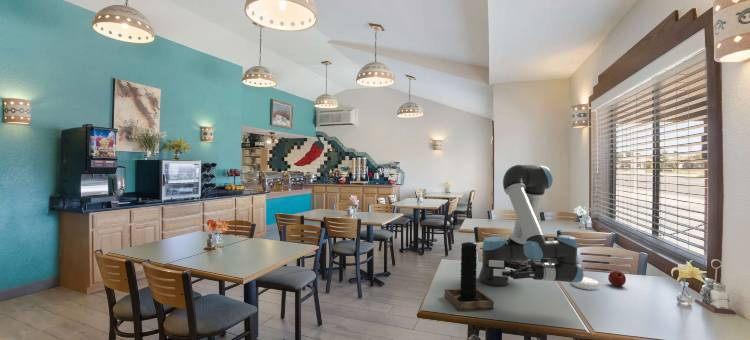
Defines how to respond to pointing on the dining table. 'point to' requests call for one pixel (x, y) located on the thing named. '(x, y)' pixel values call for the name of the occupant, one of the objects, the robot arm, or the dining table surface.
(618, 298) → the dining table surface
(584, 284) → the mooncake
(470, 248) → the handle grip
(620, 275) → the apple
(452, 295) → the tray
